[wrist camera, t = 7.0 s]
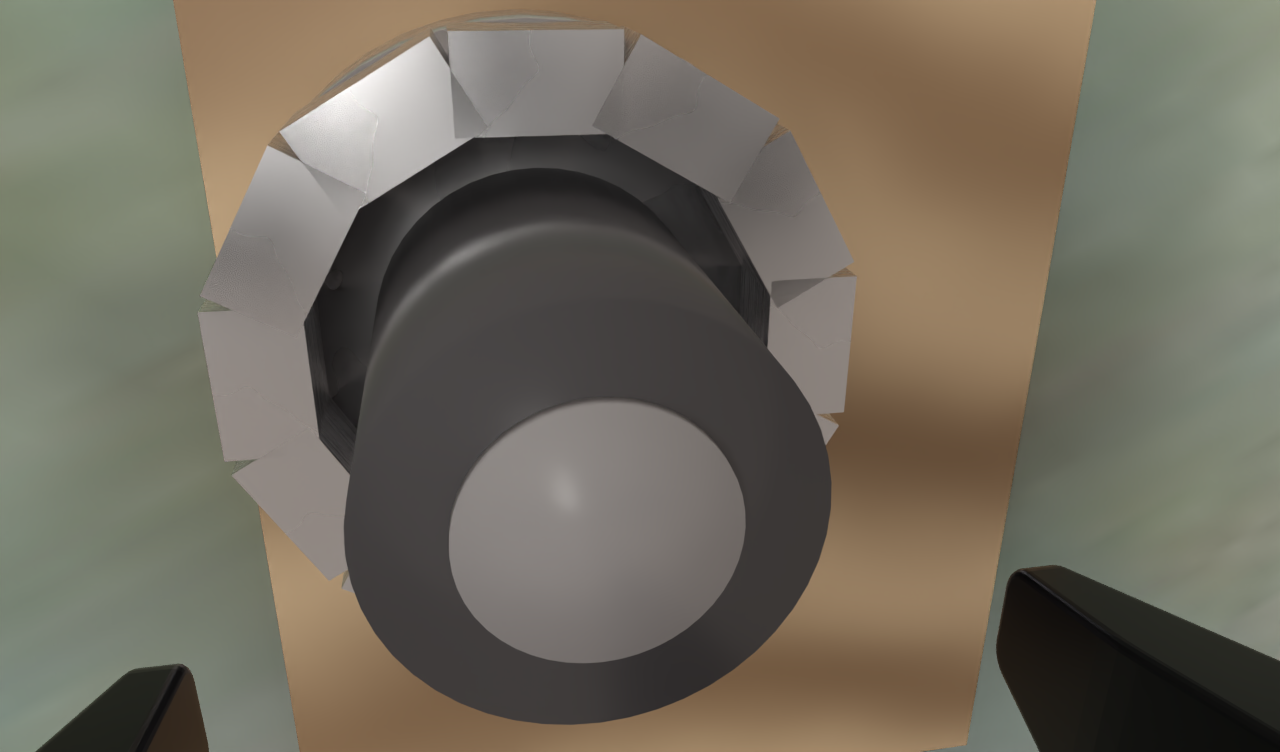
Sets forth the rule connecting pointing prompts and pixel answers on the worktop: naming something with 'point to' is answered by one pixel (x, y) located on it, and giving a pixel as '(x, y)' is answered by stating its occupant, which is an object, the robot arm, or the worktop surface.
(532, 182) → the cap
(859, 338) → the board
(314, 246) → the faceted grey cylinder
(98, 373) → the worktop surface
